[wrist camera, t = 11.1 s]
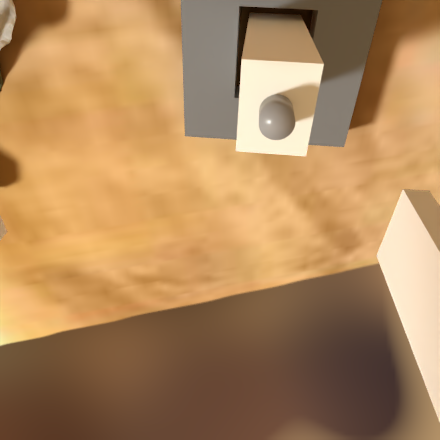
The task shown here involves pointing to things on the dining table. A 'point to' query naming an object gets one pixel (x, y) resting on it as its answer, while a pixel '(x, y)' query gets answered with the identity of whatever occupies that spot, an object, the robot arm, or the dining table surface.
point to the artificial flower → (6, 24)
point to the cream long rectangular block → (277, 85)
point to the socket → (228, 61)
